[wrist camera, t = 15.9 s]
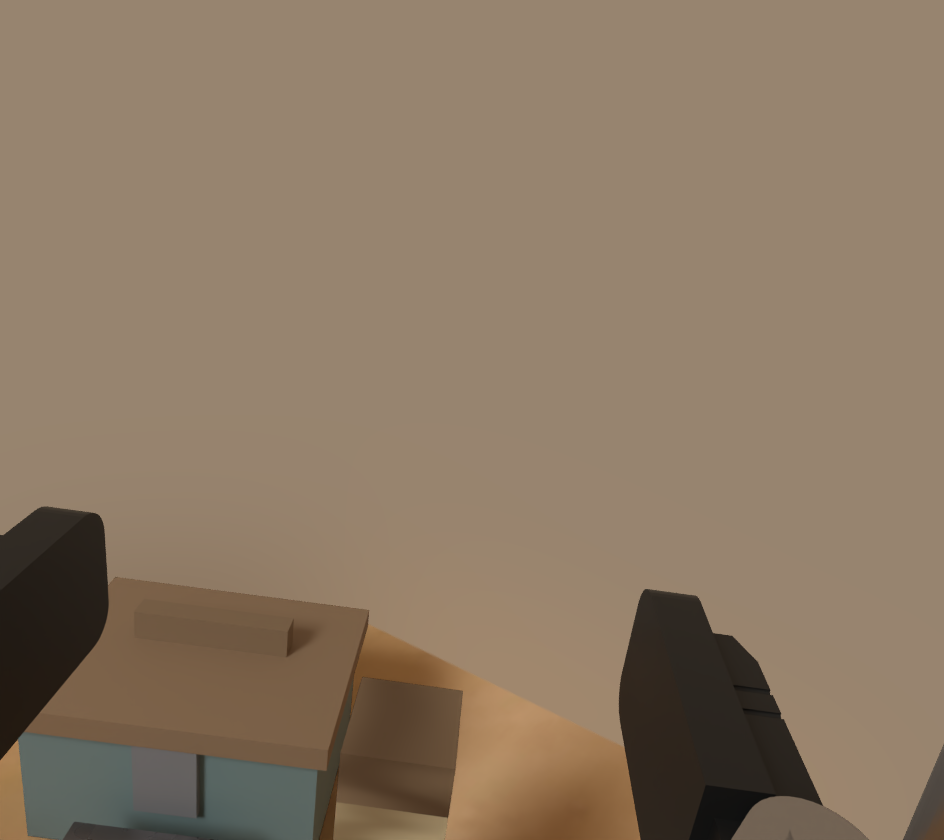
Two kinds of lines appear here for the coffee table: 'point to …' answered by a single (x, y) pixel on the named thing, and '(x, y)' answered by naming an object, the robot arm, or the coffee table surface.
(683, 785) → the robot arm
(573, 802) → the coffee table surface
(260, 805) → the toolbox
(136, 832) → the gray open box
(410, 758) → the mottled beige block
